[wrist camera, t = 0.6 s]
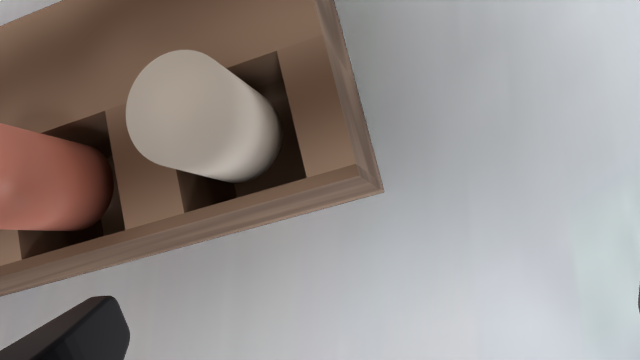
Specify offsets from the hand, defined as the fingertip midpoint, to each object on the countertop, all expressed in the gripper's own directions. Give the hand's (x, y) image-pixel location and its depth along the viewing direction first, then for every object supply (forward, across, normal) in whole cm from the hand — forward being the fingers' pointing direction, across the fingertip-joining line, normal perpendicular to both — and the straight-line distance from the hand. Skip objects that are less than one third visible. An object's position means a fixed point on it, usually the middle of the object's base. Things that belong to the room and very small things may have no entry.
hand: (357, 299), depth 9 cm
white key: (+10, +5, 0) cm, 11 cm away
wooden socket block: (+15, +12, +2) cm, 20 cm away
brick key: (+10, +12, +1) cm, 15 cm away
